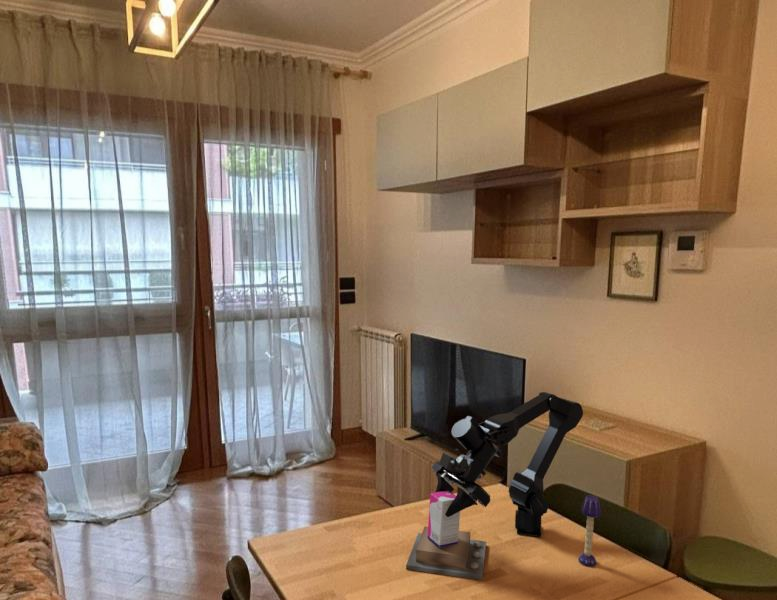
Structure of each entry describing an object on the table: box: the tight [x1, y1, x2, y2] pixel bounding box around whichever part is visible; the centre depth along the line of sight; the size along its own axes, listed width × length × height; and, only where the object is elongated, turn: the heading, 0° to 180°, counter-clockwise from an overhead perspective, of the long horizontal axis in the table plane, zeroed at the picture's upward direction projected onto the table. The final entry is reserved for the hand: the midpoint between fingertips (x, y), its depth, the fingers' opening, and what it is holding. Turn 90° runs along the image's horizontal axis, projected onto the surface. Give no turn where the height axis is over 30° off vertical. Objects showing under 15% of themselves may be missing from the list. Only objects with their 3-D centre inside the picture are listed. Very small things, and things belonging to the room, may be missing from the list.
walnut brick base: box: [405, 526, 487, 581], centre depth 134 cm, size 18×16×4 cm
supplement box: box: [427, 491, 461, 548], centre depth 134 cm, size 6×6×12 cm
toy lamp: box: [577, 494, 602, 568], centre depth 132 cm, size 5×5×17 cm
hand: (439, 510), depth 133 cm, fingers closed on supplement box, 6 cm apart
